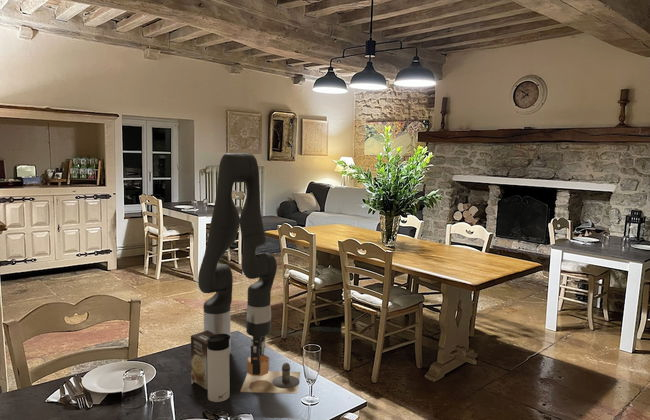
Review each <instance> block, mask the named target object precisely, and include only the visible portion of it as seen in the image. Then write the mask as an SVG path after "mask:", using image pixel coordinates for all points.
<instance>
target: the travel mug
mask: <svg viewBox="0 0 650 420" xmlns="http://www.w3.org/2000/svg"><path fill="white" fill-rule="evenodd" d="M229 339H230V335H228V334H216V335H213V336H211V337H210V338H208V340H207V344H208V345H207V372H208V389H207V399H208V401H210V402H214V403H219V402H223V401H227V400H228V399H229V398H230V396H231V395H230V392H231V391H230V386H231V383H230V377H231V376H230V354H229Z"/></svg>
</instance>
